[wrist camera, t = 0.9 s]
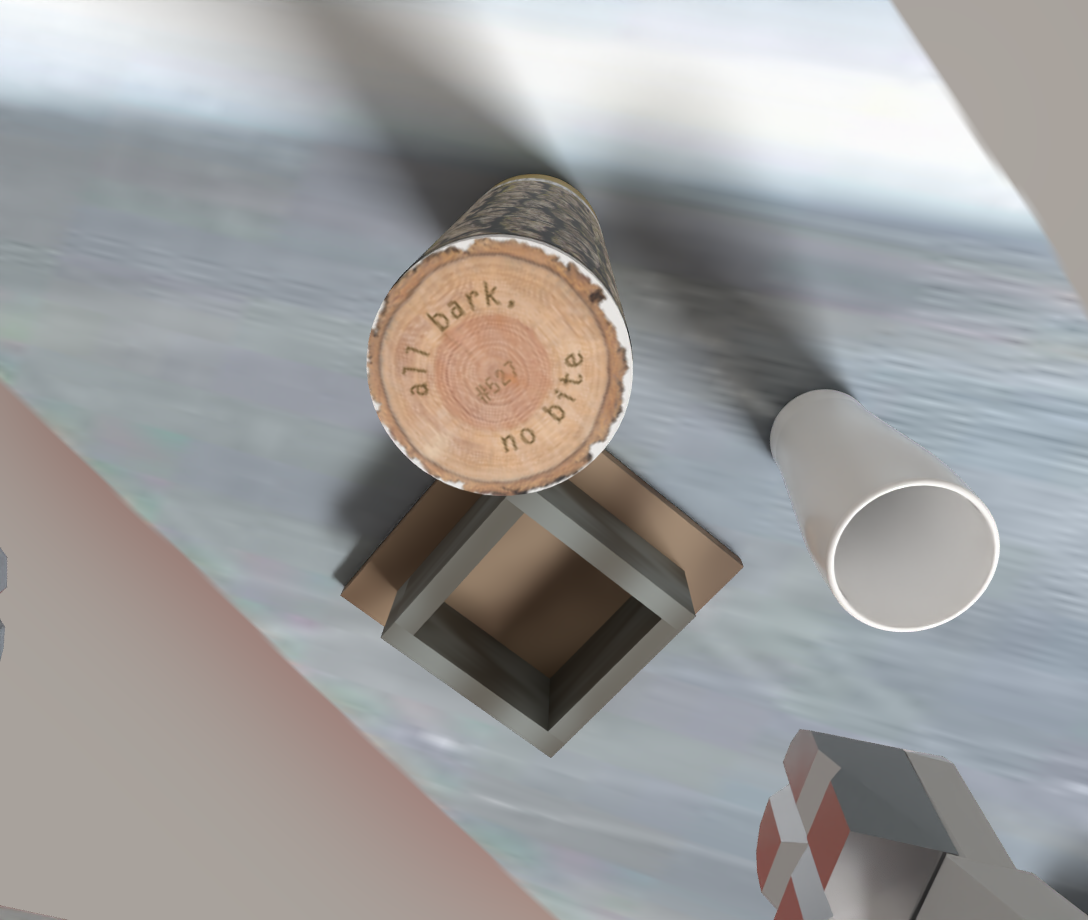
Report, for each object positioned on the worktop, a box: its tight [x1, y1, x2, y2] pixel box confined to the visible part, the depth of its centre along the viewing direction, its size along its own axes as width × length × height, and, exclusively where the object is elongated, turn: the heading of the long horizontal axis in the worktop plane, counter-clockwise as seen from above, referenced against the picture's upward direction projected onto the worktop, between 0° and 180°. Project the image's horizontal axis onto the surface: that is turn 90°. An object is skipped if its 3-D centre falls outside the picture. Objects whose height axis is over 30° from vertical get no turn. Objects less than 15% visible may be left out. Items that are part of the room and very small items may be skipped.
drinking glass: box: [770, 389, 1000, 632], centre depth 43 cm, size 7×7×15 cm
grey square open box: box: [341, 449, 743, 758], centre depth 51 cm, size 16×16×6 cm
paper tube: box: [367, 174, 633, 496], centre depth 36 cm, size 7×7×25 cm
